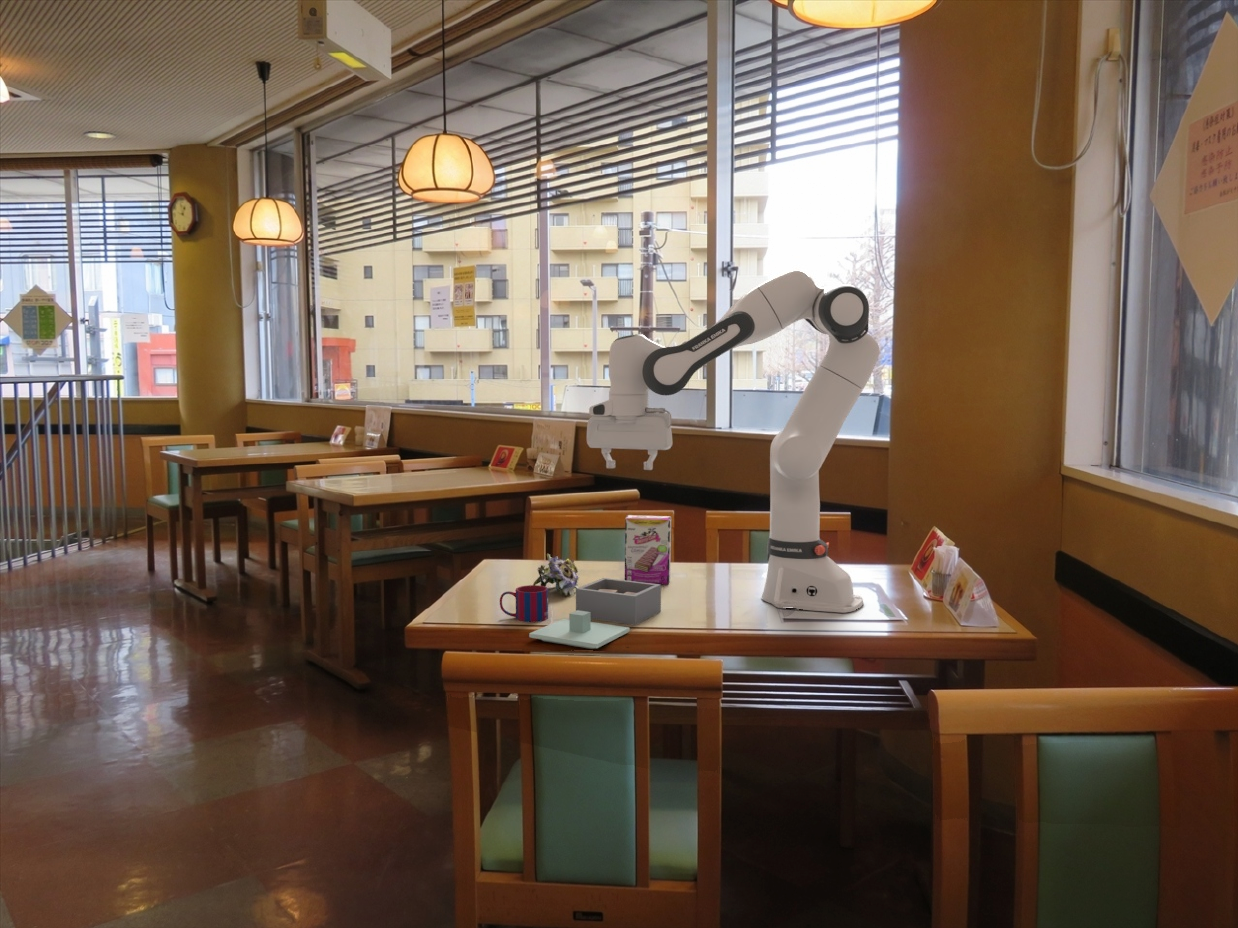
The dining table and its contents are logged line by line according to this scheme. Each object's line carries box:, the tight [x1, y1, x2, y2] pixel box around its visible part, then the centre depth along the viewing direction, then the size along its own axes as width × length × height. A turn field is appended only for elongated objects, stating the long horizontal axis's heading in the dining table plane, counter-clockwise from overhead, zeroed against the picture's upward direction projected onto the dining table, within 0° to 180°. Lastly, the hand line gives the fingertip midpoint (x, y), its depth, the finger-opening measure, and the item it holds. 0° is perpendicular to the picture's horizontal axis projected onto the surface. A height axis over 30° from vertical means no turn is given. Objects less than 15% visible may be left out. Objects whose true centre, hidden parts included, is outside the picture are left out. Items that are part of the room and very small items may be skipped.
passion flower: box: [532, 553, 580, 598], centre depth 220 cm, size 11×11×12 cm
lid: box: [528, 610, 631, 650], centre depth 185 cm, size 15×13×6 cm
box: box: [575, 577, 662, 626], centre depth 201 cm, size 14×12×6 cm
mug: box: [499, 584, 549, 623], centre depth 198 cm, size 7×10×7 cm
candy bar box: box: [624, 514, 672, 586], centre depth 233 cm, size 11×5×16 cm, turn 84°
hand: (629, 468), depth 214 cm, fingers open, 8 cm apart
